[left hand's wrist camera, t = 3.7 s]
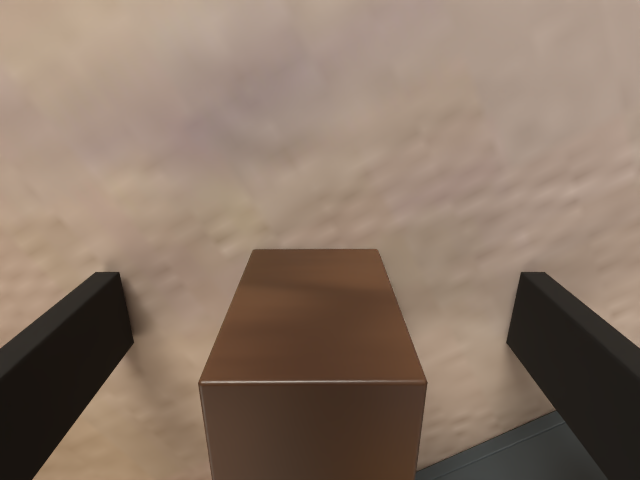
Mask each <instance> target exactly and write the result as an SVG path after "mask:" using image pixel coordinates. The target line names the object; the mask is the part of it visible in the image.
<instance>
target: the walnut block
mask: <svg viewBox="0 0 640 480" xmlns="http://www.w3.org/2000/svg"><path fill="white" fill-rule="evenodd" d="M198 385H199V392H200V399H201V406H202V413H203V420H204V427H205V434H206V440H207V447H208V454H209V461H210V468H211V475H212V480H415V475H416V468H417V460H418V452H419V444H420V436H421V429H422V421H423V413H424V405H425V397H426V389H427V380H426V377H425V375H424V372H423V369H422V367H421V364H420V361H419V359H418V356H417V353H416V351H415V348H414V345H413V343H412V340H411V337H410V335H409V332H408V329H407V327H406V324H405V321H404V319H403V316H402V313H401V311H400V308H399V305H398V303H397V300H396V297H395V295H394V292H393V289H392V286H391V284H390V281H389V278H388V276H387V273H386V270H385V268H384V265H383V262H382V260H381V257H380V254H379V252H378V250H377V249H255V250H253V251H252V253H251V256H250V258H249V261H248V263H247V266H246V268H245V270H244V273H243V275H242V278H241V280H240V283H239V285H238V287H237V290H236V292H235V295H234V297H233V300H232V302H231V304H230V307H229V309H228V312H227V314H226V317H225V319H224V321H223V324H222V326H221V329H220V331H219V334H218V336H217V338H216V341H215V343H214V346H213V348H212V351H211V353H210V355H209V358H208V360H207V363H206V365H205V368H204V370H203V372H202V375H201V377H200V380H199V382H198Z"/></svg>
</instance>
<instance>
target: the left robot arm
mask: <svg viewBox="0 0 640 480" xmlns="http://www.w3.org/2000/svg"><path fill="white" fill-rule="evenodd" d="M133 343H134V341H133V336H132V331H131V326H130V322H129V317H128V312H127V307H126V302H125V298H124V293H123V288H122V283H121V279H120V274H119V272H95V273H94V274H93V275H92V276H90V277H89V278H88V279H87V280H85V281H84V282H83V283H82V284H80V285H79V286H78V287H77V288H75V289H74V290H73V291H72V292H70V293H69V294H68V295H67V296H65V297H64V298H63V299H62V300H60V301H59V302H58V303H57V304H55V305H54V306H53V307H52V308H50V309H49V310H48V311H47V312H45V313H44V314H43V315H42V316H40V317H39V318H38V319H37V320H35V321H34V322H33V323H32V324H30V325H29V326H28V327H27V328H25V329H24V330H23V331H22V332H20V333H19V334H18V335H17V336H15V337H14V338H13V339H12V340H10V341H9V342H8V343H7V344H5V345H4V346H3V347H2V348H0V480H32V479H33V478H34V476H35V475H36V474H37V472H38V471H39V470H40V468H41V467H42V466H43V464H44V463H45V462H46V460H47V459H48V458H49V456H50V455H51V454H52V452H53V451H54V449H55V448H56V447H57V445H58V444H59V443H60V441H61V440H62V439H63V437H64V436H65V435H66V433H67V432H68V431H69V429H70V428H71V427H72V425H73V424H74V423H75V421H76V420H77V419H78V417H79V416H80V415H81V413H82V412H83V410H84V409H85V408H86V406H87V405H88V404H89V402H90V401H91V400H92V398H93V397H94V396H95V394H96V393H97V392H98V390H99V389H100V388H101V386H102V385H103V384H104V382H105V381H106V380H107V378H108V377H109V375H110V374H111V373H112V371H113V370H114V369H115V367H116V366H117V365H118V363H119V362H120V361H121V359H122V358H123V357H124V355H125V354H126V353H127V351H128V350H129V349H130V347H131V346H132V345H133ZM506 343H507V344H508V346H509V347H510V348H511V350H512V351H513V352H514V354H515V355H516V356H517V358H518V359H519V360H520V362H521V363H522V364H523V366H524V367H525V368H526V370H527V371H528V372H529V374H530V375H531V377H532V378H533V379H534V381H535V382H536V383H537V385H538V386H539V387H540V389H541V390H542V391H543V393H544V394H545V395H546V397H547V398H548V399H549V401H550V402H551V403H552V405H553V406H554V407H555V409H556V410H557V412H558V413H559V414H560V416H561V417H562V418H563V420H564V421H565V422H566V424H567V425H568V426H569V428H570V429H571V430H572V432H573V433H574V434H575V436H576V437H577V438H578V440H579V441H580V442H581V444H582V445H583V446H584V448H585V449H586V451H587V452H588V453H589V455H590V456H591V457H592V459H593V460H594V461H595V463H596V464H597V465H598V467H599V468H600V469H601V471H602V472H603V473H604V475H605V476H606V477H607V479H608V480H640V348H639V347H637V346H636V345H635V344H634V343H632V342H631V341H630V340H629V339H627V338H626V337H625V336H624V335H622V334H621V333H620V332H619V331H617V330H616V329H615V328H614V327H612V326H611V325H610V324H609V323H607V322H606V321H605V320H604V319H602V318H601V317H600V316H599V315H597V314H596V313H595V312H594V311H592V310H591V309H590V308H589V307H587V306H586V305H585V304H584V303H582V302H581V301H580V300H579V299H577V298H576V297H575V296H574V295H572V294H571V293H570V292H569V291H567V290H566V289H565V288H564V287H562V286H561V285H560V284H559V283H557V282H556V281H555V280H554V279H552V278H551V277H550V276H549V275H547V274H546V273H545V272H521V275H520V280H519V285H518V289H517V294H516V299H515V304H514V309H513V313H512V318H511V323H510V328H509V332H508V337H507V342H506Z"/></svg>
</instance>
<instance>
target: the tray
mask: <svg viewBox="0 0 640 480" xmlns="http://www.w3.org/2000/svg"><path fill="white" fill-rule="evenodd" d="M415 480H608V479H607V477H606V476H605V475H604V473H603V472H602V471H601V469H600V468H599V467H598V465H597V464H596V463H595V461H594V460H593V459H592V457H591V456H590V455H589V453H588V452H587V451H586V449H585V448H584V446H583V445H582V444H581V442H580V441H579V440H578V438H577V437H576V436H575V434H574V433H573V432H572V430H571V429H570V428H569V426H568V425H567V424H566V422H565V421H564V420H563V418H562V417H561V416H560V414H559V413H558V412H557V410H556V411H554V412H552V413H549V414H547V415H545V416H543V417H540V418H538V419H536V420H533V421H531V422H529V423H527V424H524V425H522V426H520V427H518V428H515V429H513V430H511V431H509V432H506V433H504V434H502V435H500V436H497V437H495V438H493V439H490V440H488V441H486V442H484V443H481V444H479V445H477V446H475V447H472V448H470V449H468V450H466V451H463V452H461V453H459V454H456V455H454V456H452V457H450V458H447V459H445V460H443V461H441V462H438V463H436V464H434V465H432V466H429V467H427V468H425V469H422V470H420V471H418V472H416V475H415Z"/></svg>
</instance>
